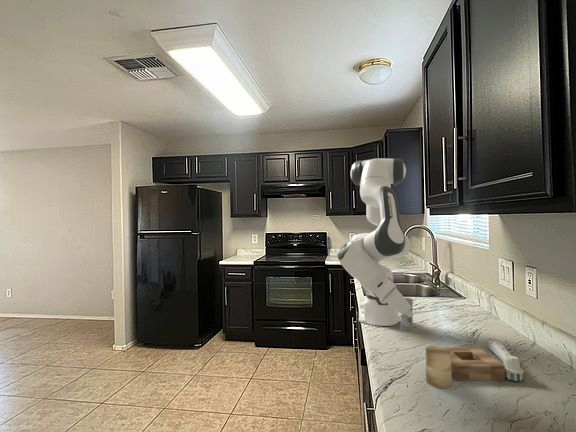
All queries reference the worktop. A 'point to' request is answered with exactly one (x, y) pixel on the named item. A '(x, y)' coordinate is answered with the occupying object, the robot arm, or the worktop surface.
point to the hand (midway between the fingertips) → (408, 312)
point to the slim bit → (407, 318)
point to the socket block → (474, 365)
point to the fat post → (438, 366)
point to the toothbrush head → (507, 360)
